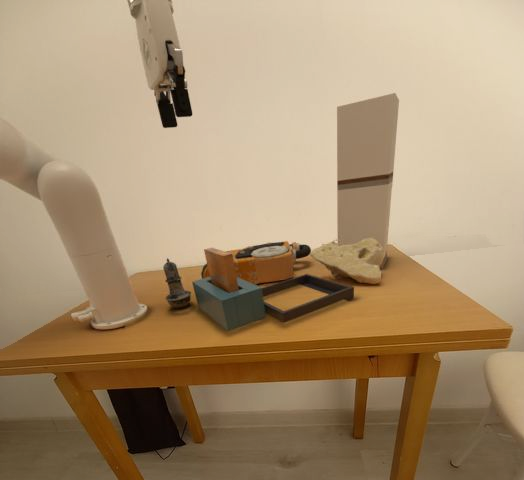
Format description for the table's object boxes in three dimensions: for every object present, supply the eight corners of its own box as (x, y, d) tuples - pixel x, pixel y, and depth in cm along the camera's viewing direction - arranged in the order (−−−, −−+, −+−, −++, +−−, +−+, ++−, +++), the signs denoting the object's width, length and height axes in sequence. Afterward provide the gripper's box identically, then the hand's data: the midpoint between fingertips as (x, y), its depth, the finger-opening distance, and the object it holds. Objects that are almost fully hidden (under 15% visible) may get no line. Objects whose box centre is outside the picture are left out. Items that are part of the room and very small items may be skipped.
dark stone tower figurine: (192, 302, 73) (179, 253, 67) (196, 310, 68) (182, 257, 62) (168, 308, 71) (152, 258, 65) (171, 317, 66) (154, 263, 60)
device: (210, 245, 91) (307, 231, 89) (216, 271, 96) (309, 259, 93) (196, 263, 72) (319, 246, 70) (204, 295, 76) (320, 280, 74)
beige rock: (395, 284, 71) (366, 237, 76) (401, 268, 64) (368, 218, 69) (336, 312, 73) (311, 264, 78) (335, 299, 66) (308, 248, 71)
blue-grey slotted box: (228, 334, 55) (221, 300, 51) (199, 310, 68) (191, 281, 64) (266, 320, 58) (261, 287, 54) (231, 300, 71) (225, 272, 67)
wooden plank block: (243, 317, 59) (232, 253, 52) (235, 320, 58) (223, 255, 52) (223, 304, 67) (211, 247, 60) (216, 306, 66) (203, 249, 60)
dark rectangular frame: (283, 326, 55) (282, 313, 53) (245, 304, 67) (243, 293, 66) (353, 299, 61) (354, 287, 60) (307, 283, 74) (306, 273, 72)
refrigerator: (386, 257, 84) (399, 100, 66) (382, 269, 76) (395, 92, 58) (345, 258, 89) (347, 111, 71) (337, 269, 81) (337, 106, 63)
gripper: (120, 23, 57) (149, 132, 65) (137, -34, 43) (171, 112, 52) (158, 25, 60) (181, 129, 68) (185, -27, 46) (210, 110, 55)
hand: (177, 122), depth 60 cm, fingers open, 9 cm apart
